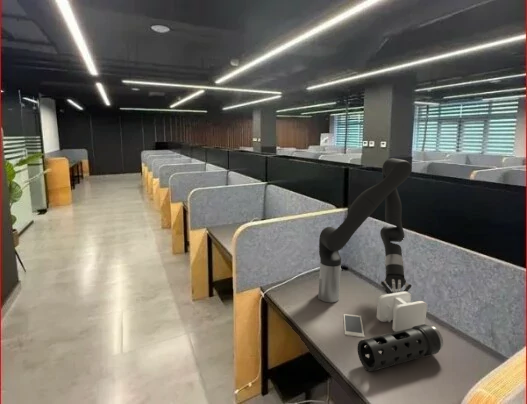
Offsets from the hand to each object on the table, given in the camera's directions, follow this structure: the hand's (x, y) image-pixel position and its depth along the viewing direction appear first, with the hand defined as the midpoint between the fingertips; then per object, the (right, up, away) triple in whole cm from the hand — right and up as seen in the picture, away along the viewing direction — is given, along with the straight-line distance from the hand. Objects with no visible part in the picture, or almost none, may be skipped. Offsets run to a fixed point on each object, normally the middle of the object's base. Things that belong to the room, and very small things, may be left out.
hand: (396, 305), depth 129 cm
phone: (-20, -6, -7) cm, 22 cm away
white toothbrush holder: (-2, -6, -6) cm, 9 cm away
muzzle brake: (-11, -10, -26) cm, 30 cm away
